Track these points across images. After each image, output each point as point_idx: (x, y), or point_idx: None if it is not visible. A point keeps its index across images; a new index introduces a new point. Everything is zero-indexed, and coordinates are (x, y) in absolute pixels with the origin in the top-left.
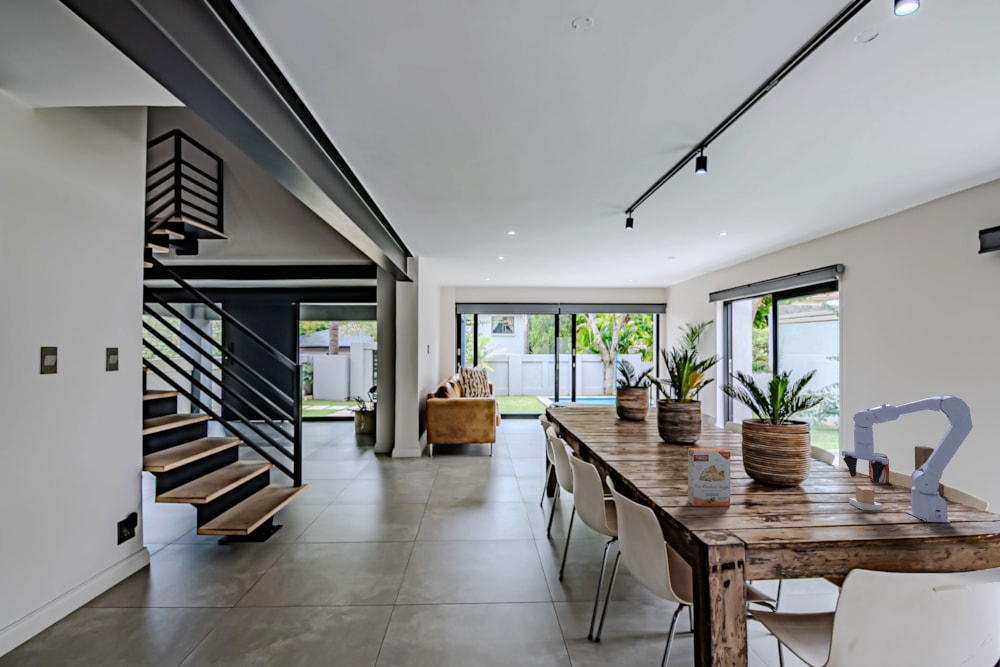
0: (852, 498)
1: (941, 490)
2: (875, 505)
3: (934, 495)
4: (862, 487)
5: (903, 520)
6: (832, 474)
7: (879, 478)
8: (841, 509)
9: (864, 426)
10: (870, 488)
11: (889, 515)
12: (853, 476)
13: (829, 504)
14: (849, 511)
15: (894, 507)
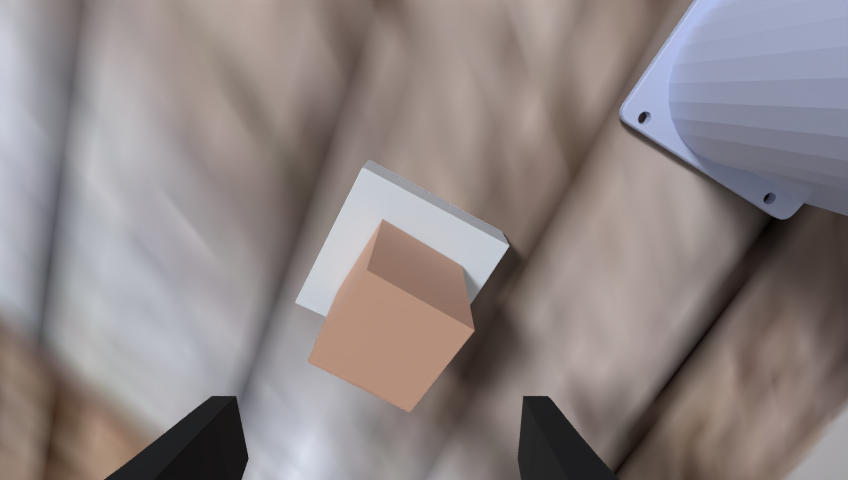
0: (310, 288)
1: None
2: (481, 284)
3: None
4: (366, 346)
5: (667, 314)
6: None
7: (575, 432)
8: (375, 439)
9: None
10: (427, 311)
11: (577, 296)
12: (243, 447)
13: (283, 417)
14: (417, 433)
15: (513, 49)
